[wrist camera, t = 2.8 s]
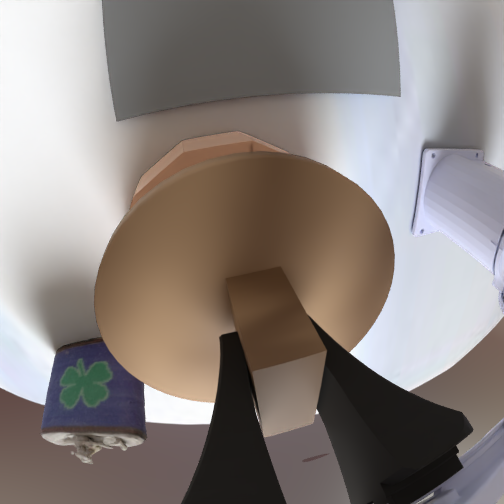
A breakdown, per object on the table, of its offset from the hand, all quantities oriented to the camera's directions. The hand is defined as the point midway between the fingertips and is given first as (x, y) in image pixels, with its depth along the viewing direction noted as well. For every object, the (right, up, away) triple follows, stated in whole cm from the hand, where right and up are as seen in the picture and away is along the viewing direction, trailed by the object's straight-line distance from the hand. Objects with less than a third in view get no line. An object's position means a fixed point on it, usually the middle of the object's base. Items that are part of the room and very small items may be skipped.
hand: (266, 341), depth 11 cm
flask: (-14, -5, +11) cm, 19 cm away
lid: (-1, +1, +2) cm, 2 cm away
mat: (0, +17, +1) cm, 18 cm away
